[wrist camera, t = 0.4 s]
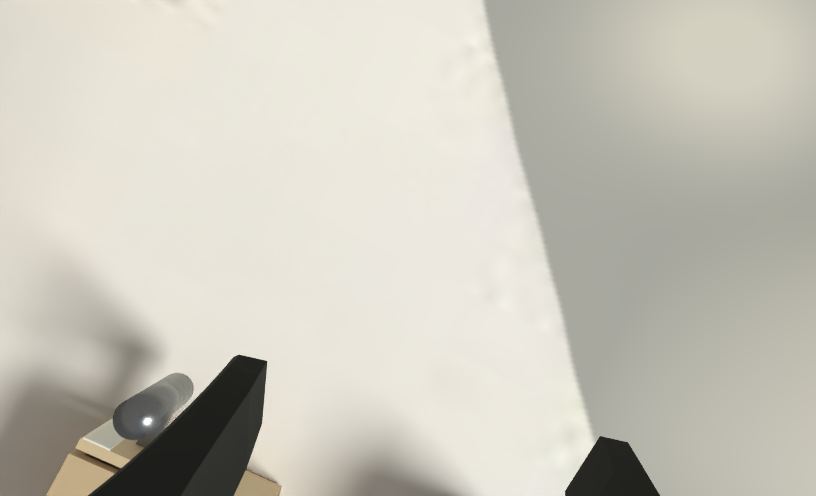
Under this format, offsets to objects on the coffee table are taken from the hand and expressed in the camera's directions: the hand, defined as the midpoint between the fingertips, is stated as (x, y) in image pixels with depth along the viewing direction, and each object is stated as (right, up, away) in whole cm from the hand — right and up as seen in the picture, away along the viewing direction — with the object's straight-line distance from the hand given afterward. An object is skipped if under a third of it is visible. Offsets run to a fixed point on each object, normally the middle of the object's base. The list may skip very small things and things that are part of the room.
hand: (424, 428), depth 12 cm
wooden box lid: (-13, -8, +25) cm, 29 cm away
